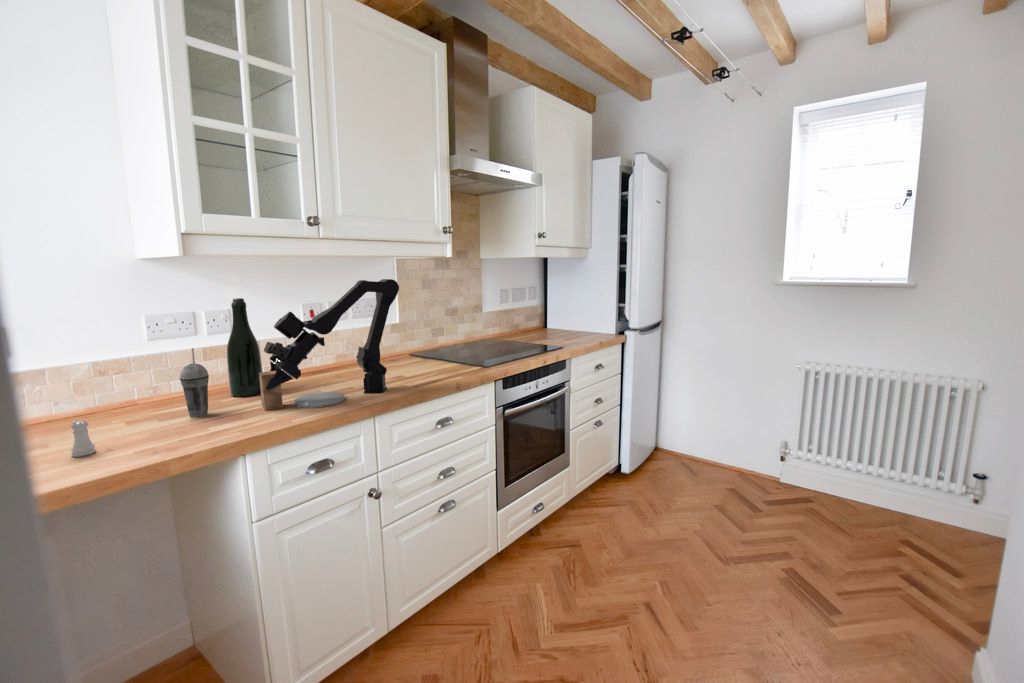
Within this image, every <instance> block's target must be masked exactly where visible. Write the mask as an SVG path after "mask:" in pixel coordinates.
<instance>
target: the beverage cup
mask: <svg viewBox="0 0 1024 683" xmlns="http://www.w3.org/2000/svg"><path fill="white" fill-rule="evenodd" d="M191 360H192V363H190V364H187V365H186V366H185V365H184V367H183V368H182V369H181V371H180V374H179V380H180V383H181V387H182V390H183V393H184V398H185V403H186V407H187V411H188V415H189V418H191V417H198V418H201V417H200V416H203V417H205V416H204V415H206V416H208V415H207V414H209V413H208V412H209V385H208V384H209V381H210V380H209V379H210V378H209V377H210V375H209V372H208V370H207V368H206V367H205V366H204V365H202V364H200V363H195V350H194V348H191Z"/></svg>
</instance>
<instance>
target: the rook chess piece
mask: <svg viewBox="0 0 1024 683" xmlns="http://www.w3.org/2000/svg"><path fill="white" fill-rule="evenodd" d="M89 425H90V424H89V422H87V420H86V419H81V421H80V420H79V419H78V420H76V421H75V420H74V421H72V422H71V425H70V428H72V430H73V431H72V434H73V436H74V438H73V439H74V440H73V444H72V448H71V449H70V450H71V451H70V452H72V453H71V454H70V455H71V456H72V457H73V458H82V457H86V456H91V455H92V454H94V453H95V452H96V451H97V448H96V445H95V443H93V442H92V441H91V439H90V436H89V429H88V426H89Z"/></svg>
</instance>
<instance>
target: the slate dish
mask: <svg viewBox="0 0 1024 683" xmlns="http://www.w3.org/2000/svg"><path fill="white" fill-rule="evenodd" d="M344 399H346V397H345V394H344V393H343V392H338V391H321V392H314V393H307V394H303V395H300V396H298V397H296V398H295V399H294V405H295V406H296V407H297V406H300V407H299V408H302V407H319V408H321V407H320V406H326V407H329V406H328V405H331V406H334V404H335V405H338V404H340V402H341V403H343V402H344V401H345V400H344ZM343 400H344V401H343ZM342 401H343V402H342ZM337 403H338V404H337Z"/></svg>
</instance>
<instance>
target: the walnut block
mask: <svg viewBox="0 0 1024 683" xmlns="http://www.w3.org/2000/svg"><path fill="white" fill-rule="evenodd" d="M275 373H276V371H270V370H269V371H263V372H261V373H259V378H260V389H261V393H260V396H261V397H260V398H261V406H262V407H263V408H264V409H263V408H262V407H261V408H262V409H263V410H264V411H265V410H268V411H271V410H270V409H274V410H277V409H276V408H280V409H284V407H283V406H284V405H283V393H282V384H281V385H279V386H277V387H275V388H273V389H271V390H267V389H266V387H267V385H268V384H269V382H270V381H271V379H272V378H273V376H274V374H275Z"/></svg>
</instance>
